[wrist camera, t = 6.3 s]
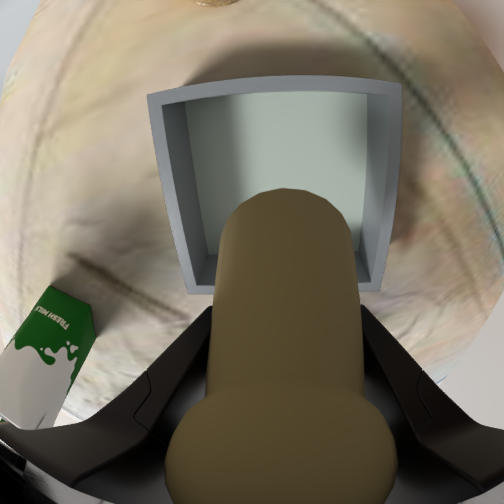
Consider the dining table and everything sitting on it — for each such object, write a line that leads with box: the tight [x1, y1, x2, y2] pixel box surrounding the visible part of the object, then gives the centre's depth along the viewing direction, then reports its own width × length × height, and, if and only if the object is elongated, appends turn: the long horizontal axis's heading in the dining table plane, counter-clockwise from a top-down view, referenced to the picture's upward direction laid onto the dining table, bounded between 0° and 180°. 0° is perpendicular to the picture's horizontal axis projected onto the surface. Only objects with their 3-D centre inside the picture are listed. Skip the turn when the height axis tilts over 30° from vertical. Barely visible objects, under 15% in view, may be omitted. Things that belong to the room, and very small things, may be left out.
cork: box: [164, 188, 398, 504], centre depth 8 cm, size 6×6×11 cm
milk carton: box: [0, 286, 96, 430], centre depth 22 cm, size 9×9×20 cm
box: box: [147, 75, 402, 295], centre depth 17 cm, size 14×14×4 cm
